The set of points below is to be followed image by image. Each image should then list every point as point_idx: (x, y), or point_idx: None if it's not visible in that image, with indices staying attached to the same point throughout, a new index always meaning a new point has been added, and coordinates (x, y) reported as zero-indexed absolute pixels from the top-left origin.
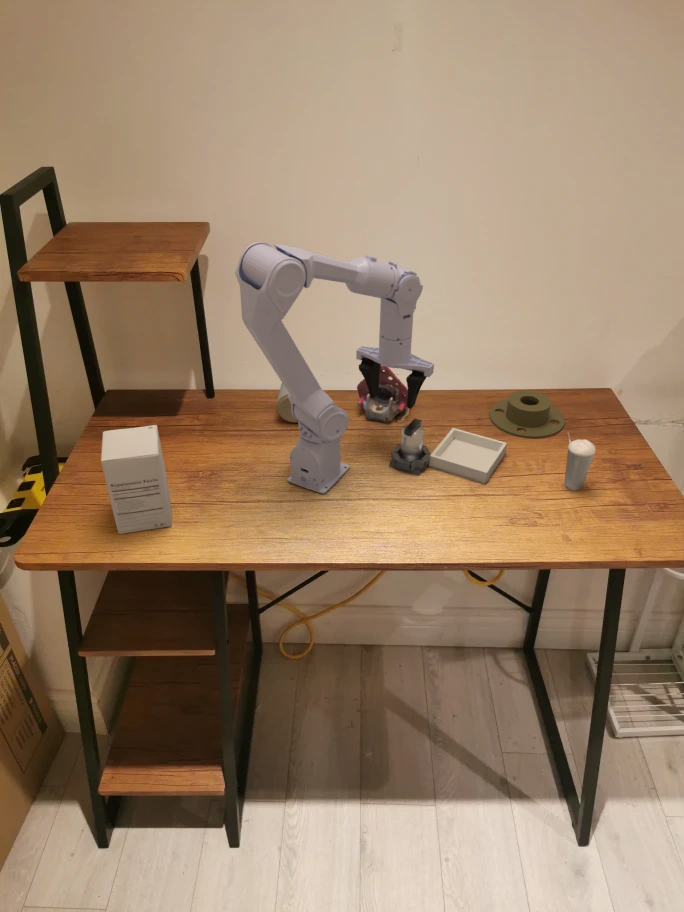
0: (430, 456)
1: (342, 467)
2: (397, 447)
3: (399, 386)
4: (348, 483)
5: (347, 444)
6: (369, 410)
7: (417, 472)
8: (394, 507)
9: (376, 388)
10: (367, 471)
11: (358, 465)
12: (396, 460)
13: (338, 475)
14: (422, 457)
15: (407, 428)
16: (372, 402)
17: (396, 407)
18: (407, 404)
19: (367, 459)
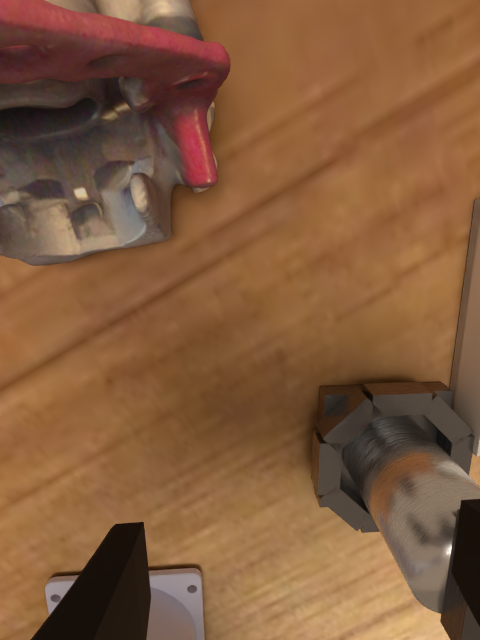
0: (477, 454)
1: (183, 593)
2: (328, 460)
3: (136, 65)
4: (238, 621)
5: (106, 457)
6: (52, 262)
7: None
8: (410, 636)
9: (128, 614)
10: (261, 548)
11: (216, 538)
12: (357, 525)
13: (196, 630)
14: (423, 424)
15: (472, 638)
16: (14, 180)
17: (165, 152)
18: (476, 614)
19: (226, 496)
